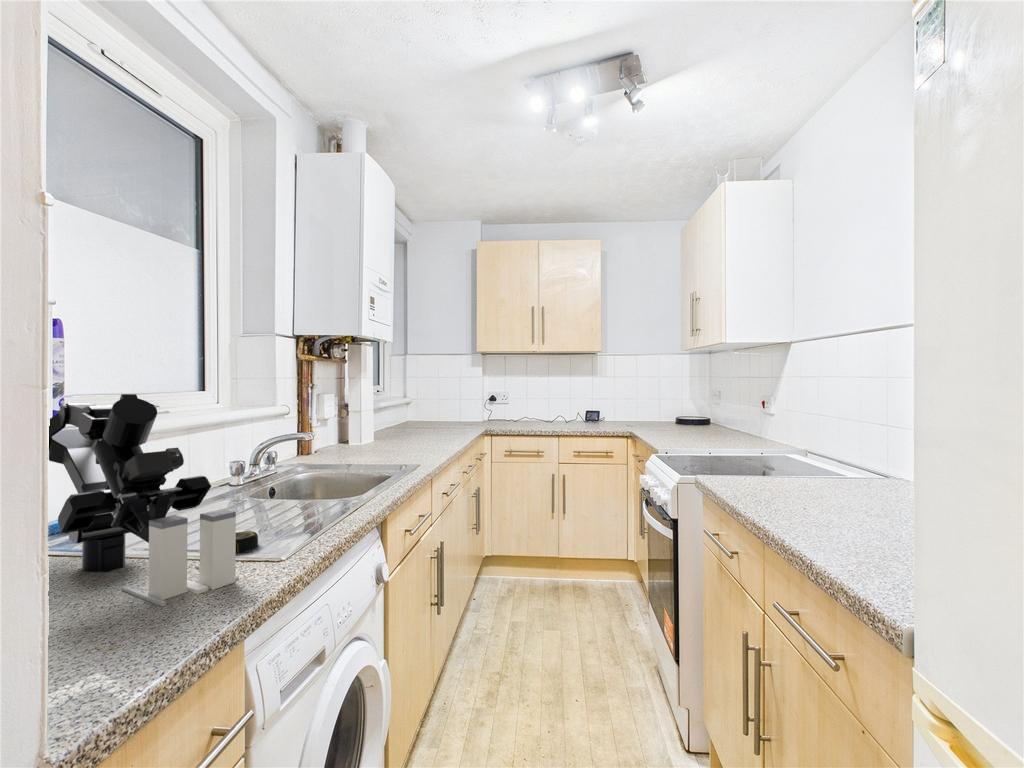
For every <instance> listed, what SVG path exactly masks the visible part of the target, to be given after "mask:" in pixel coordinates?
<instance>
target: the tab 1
mask: <svg viewBox="0 0 1024 768" xmlns="http://www.w3.org/2000/svg"><path fill="white" fill-rule="evenodd" d="M187 580H188V517H184V516H180V515H177V514H176V515H175V514H174V515H170V516H166V517H163V518H159V519H154V520H149V543H148V595H150V596H153V597H155V598H158V599H160V600H163V601H165V600H167V599H170V598H173V597H176V596H179V595H182V594H185V593H188V591H187Z"/></svg>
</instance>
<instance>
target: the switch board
mask: <svg viewBox="0 0 1024 768" xmlns="http://www.w3.org/2000/svg"><path fill="white" fill-rule="evenodd" d="M194 568H195V569H196V570H199V571H200V564H196V565H194ZM239 579H240V577H239V576H238V575H237V576H236V575H235V582H237V581H239ZM121 591H123V592H126V593H128V594H131V595H133V596H136V597H138V598H139V599H140V598H141V599H143V600H145V601H148V602H150V603H153V604H155V605H156V606H157V605H158V606H161V607H164V606H167V601H165V600H160V599H158V598H155V597H153V596H150V595H149V594H148V593H144V592H142V591H139V590H138V589H134V588H132V587H130V586H127V585H125V586H121ZM208 591H209V588H208V586H205V585H202V584H200V582H196V581H193V580H191V579H187V592H191V593H192V594H195V595H199V594H202V593H205V592H208Z"/></svg>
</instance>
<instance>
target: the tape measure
mask: <svg viewBox="0 0 1024 768" xmlns="http://www.w3.org/2000/svg"><path fill="white" fill-rule="evenodd" d="M258 546H259V536H258V534H257V532H256V531H253V530H252V531H251V530H247V531H245V530H244V531H239V532H236V554H245V553H247V552H251V551H254V550H255V549H256V548H258Z"/></svg>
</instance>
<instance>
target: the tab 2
mask: <svg viewBox="0 0 1024 768" xmlns="http://www.w3.org/2000/svg"><path fill="white" fill-rule="evenodd" d="M236 513H237V512H236V511H234V510H229V509H225V508H224V509H223V508H222V509H216V510H213V511H208V512H203V513H199V565H200V570H199V584H202V585H205V586H208V590H212V591H214V590H216V589H219V588H222V587H225V586H228V585H230V584H233V583H236V581H235V576H236V533H237V532H236V530H237V529H236V526H237V524H236V523H237V522H236V521H237V519H236V518H237V517H236V516H237V515H236Z"/></svg>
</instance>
